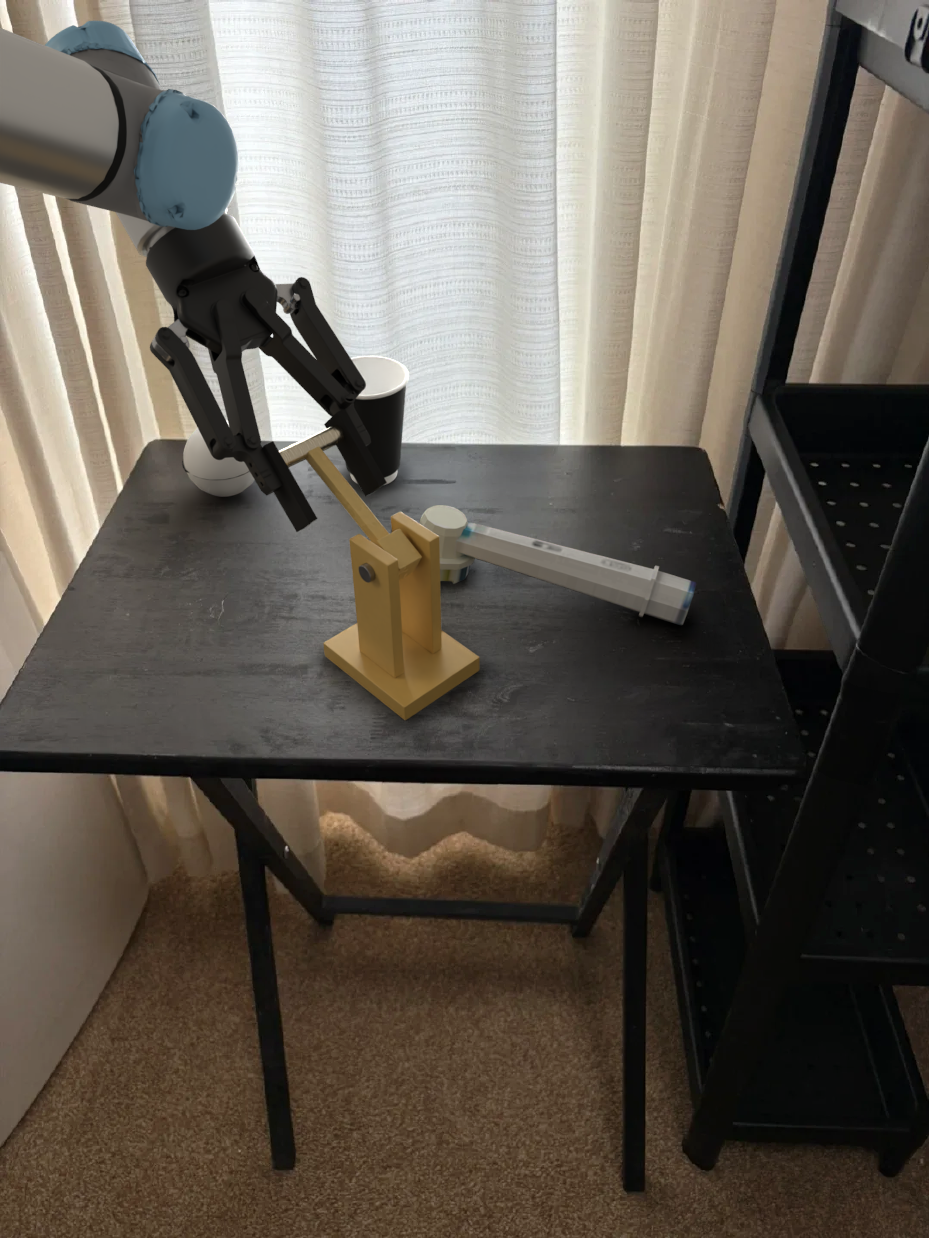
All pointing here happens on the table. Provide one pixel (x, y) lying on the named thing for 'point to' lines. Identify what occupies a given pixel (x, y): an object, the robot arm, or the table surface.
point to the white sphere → (214, 469)
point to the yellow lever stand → (400, 626)
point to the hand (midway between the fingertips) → (341, 506)
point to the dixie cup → (382, 410)
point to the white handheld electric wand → (557, 566)
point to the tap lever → (351, 496)
